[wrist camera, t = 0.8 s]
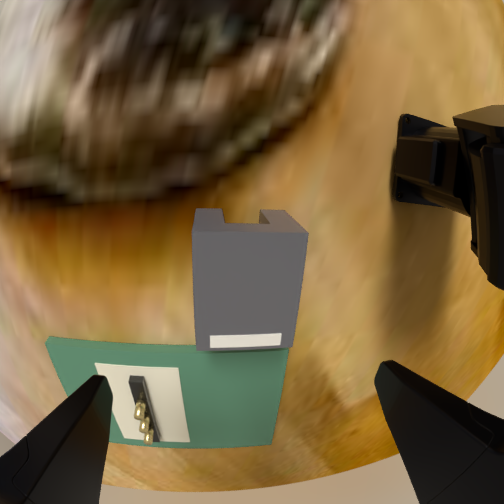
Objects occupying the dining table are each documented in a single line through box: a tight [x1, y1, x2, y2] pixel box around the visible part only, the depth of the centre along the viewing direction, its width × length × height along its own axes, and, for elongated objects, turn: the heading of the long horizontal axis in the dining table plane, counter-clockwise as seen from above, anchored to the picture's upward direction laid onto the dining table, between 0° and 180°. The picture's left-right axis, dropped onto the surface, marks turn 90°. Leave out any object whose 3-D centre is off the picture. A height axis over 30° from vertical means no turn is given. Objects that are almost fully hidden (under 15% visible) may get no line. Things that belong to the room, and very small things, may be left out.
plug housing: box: [192, 208, 308, 351], centre depth 18 cm, size 6×7×5 cm
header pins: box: [128, 375, 161, 445], centre depth 21 cm, size 1×9×2 cm, turn 177°
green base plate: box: [45, 336, 289, 448], centre depth 23 cm, size 20×14×1 cm
